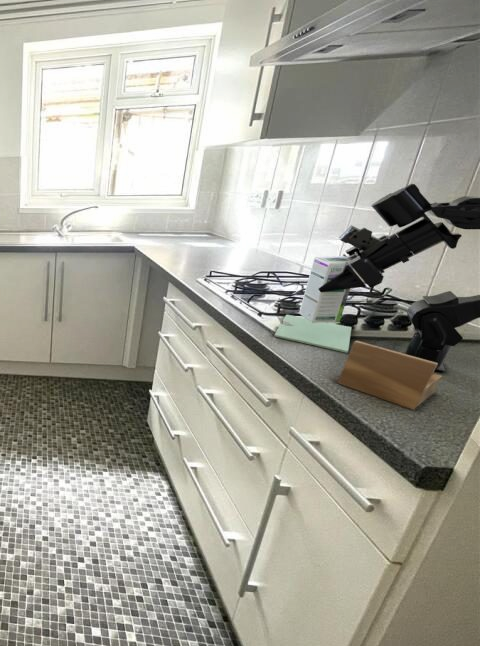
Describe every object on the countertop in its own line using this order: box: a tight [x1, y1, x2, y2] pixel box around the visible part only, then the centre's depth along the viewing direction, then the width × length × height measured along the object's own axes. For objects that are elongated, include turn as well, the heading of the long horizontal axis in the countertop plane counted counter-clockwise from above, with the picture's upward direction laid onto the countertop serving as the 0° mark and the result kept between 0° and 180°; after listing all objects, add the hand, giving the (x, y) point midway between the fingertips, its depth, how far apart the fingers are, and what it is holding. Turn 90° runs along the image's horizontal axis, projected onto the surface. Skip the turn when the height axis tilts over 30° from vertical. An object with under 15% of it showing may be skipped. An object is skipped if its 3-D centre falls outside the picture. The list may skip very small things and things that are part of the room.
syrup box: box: [298, 255, 353, 323], centre depth 96 cm, size 6×6×14 cm
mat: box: [273, 314, 352, 354], centre depth 106 cm, size 20×14×1 cm
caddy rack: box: [337, 340, 442, 411], centre depth 78 cm, size 10×11×9 cm
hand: (319, 286), depth 96 cm, fingers closed on syrup box, 7 cm apart
